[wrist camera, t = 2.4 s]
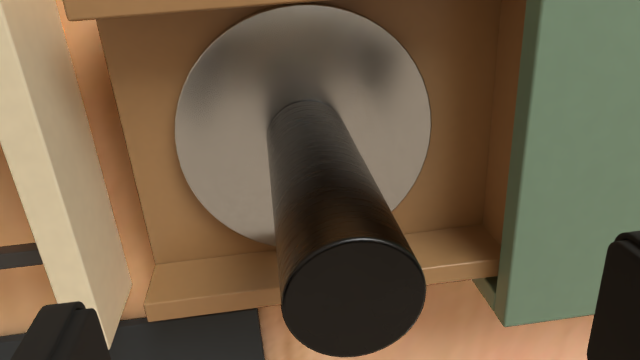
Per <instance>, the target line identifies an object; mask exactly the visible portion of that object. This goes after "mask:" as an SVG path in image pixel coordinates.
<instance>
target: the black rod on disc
mask: <svg viewBox="0 0 640 360" xmlns="http://www.w3.org/2000/svg"><path fill="white" fill-rule="evenodd" d="M431 127H432V121H431V106H430V101H429V95H428V92H427V88H426V85H425V82H424V79H423V77H422V75H421V73H420V71H419V69H418V67H417V65H416V63H415V61H414V60H413V59H412V57H411V56H410V54H409V53H408V51H407V50H406V49H405V48H404V47H403V45H402V44H401V43H400V42H399V41H398V40H397V39H396V38H395V37H394V36H393V35H392V34H390V33H389V32H388V31H387V30H386V29H384V28H383V27H382V26H380V25H379V24H377V23H375V22H374V21H372V20H370V19H369V18H367V17H365V16H364V15H361V14H359V13H357V12H354V11H352V10H350V9H347V8H343V7H340V6H336V5H333V4H327V3H319V2H304V3H292V4H279V5H274V6H271V7H267V8H264V9H261V10H258V11H256V12H253V13H251V14H249V15H247V16H245V17H242V18H241V19H239V20H238V21H236V22H234V23H233V24H231V25H230V26H228V27H227V28H226V29H224V30H223V31H222V32H221V33H220V34H218V35H217V36H216V37H215V38H214V39H213V40H212V41H211V42H210V43H209V44H208V45H207V46H206V48H205V49H204V50H203V51H202V52H201V54H200V55H199V57H198V58H197V60H196V61H195V63H194V64H193V66H192V67H191V69H190V71H189V73H188V76H187V78H186V80H185V82H184V84H183V86H182V89H181V92H180V96H179V99H178V102H177V108H176V114H175V128H174V137H175V145H176V152H177V156H178V160H179V163H180V167H181V170H182V172H183V174H184V177H185V179H186V181H187V183H188V185H189V187H190V188H191V190H192V192H193V193H194V195H195V196H196V198H197V199H198V200H199V201H200V203H201V204H202V205H203V206H204V208H205V209H206V210H207V211H208V212H209V213H211V214H212V215H213V216H214V217H215V218H216V219H217V220H218V221H220V222H221V223H222V224H224V225H225V226H226V227H228V228H229V229H231V230H233V231H235V232H236V233H238V234H240V235H242V236H244V237H246V238H249V239H251V240H254V241H256V242H260V243H263V244H267V245H270V246H276V252H277V264H278V275H279V287H280V298H281V309H282V314H283V318H284V321H285V323H286V325H287V327H288V329H289V330H290V332H291V333H292V334H293V335H294V336H295V338H296V339H297V340H299V341H300V342H301V343H302V344H303V345H305V346H306V347H308V348H310V349H312V350H314V351H316V352H319V353H321V354H325V355H329V356H335V357H356V356H362V355H367V354H370V353H374V352H376V351H379V350H381V349H384V348H386V347H387V346H389V345H391V344H393V343H394V342H396V341H397V340H399V339H400V338H401V337H402V336H403V335H405V334H406V333H407V332H408V331H409V330H410V329H411V327H412V326H413V325H414V323H415V322H416V321H417V319H418V317H419V315H420V313H421V311H422V309H423V306H424V302H425V296H426V281H425V276H424V273H423V270H422V268H421V266H420V264H419V262H418V260H417V258H416V257H415V255H414V253H413V251H412V249H411V247H410V245H409V244H408V242H407V240H406V238H405V236H404V234H403V232H402V230H401V229H400V227H399V225H398V223H397V221H396V219H395V217H394V215H393V214H392V211H393V210H394V209H395V208H396V207H397V206H398V205H399V204H400V203H401V202H402V200H403V199H404V198H405V197H406V196H407V194H408V193H409V191H410V190H411V188H412V187H413V185H414V184H415V182H416V180H417V178H418V176H419V174H420V172H421V170H422V167H423V165H424V162H425V159H426V157H427V152H428V148H429V144H430V137H431Z"/></svg>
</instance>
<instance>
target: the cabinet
mask: <svg viewBox="0 0 640 360" xmlns="http://www.w3.org/2000/svg"><path fill="white" fill-rule="evenodd" d="M632 231H640V0H527V1H526V10H525V20H524V29H523V39H522V49H521V58H520V68H519V78H518V87H517V97H516V106H515V116H514V126H513V135H512V145H511V155H510V164H509V174H508V183H507V193H506V203H505V212H504V222H503V232H502V241H501V251H500V261H499V270H498V276H493V277H486V278H478V279H472V280H473V282H474V283H475V285H476V286H477V288H478V289H479V291H480V292H481V294H482V295H483V297H484V298H485V300H486V301H487V303H488V304H489V306H490V307H491V309H492V310H493V311H494V312H495V314H496V316H497V317H498V319H499V320H500V322H501V323H502V325H503V326H504V327H510V326H517V325H525V324H532V323H539V322H546V321H553V320H560V319H567V318H574V317H581V316H588V315H594V314H595V309H596V304H597V299H598V294H599V289H600V284H601V279H602V274H603V269H604V264H605V259H606V254H607V249H608V246H609V245H610V244H611V243H612V242H614V241H615V238H616V237H617V236H618V235H619V234H621V233H624V232H632Z"/></svg>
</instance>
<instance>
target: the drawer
mask: <svg viewBox="0 0 640 360" xmlns="http://www.w3.org/2000/svg"><path fill="white" fill-rule="evenodd" d="M526 1H527V0H63V4H64V8H65V12H66V15H67V19H68V20H69V21H82V20H94V19H96V22H97V26H98V30H99V34H100V38H101V43H102V47H103V51H104V55H105V59H106V63H107V67H108V71H109V75H110V80H111V84H112V88H113V92H114V96H115V100H116V104H117V108H118V113H119V117H120V121H121V125H122V129H123V133H124V137H125V141H126V146H127V150H128V154H129V158H130V162H131V166H132V170H133V174H134V178H135V183H136V187H137V191H138V195H139V199H140V203H141V207H142V211H143V216H144V220H145V224H146V228H147V232H148V236H149V240H150V244H151V249H152V253H153V257H154V261H155V268H154V271H153V275H152V278H151V281H150V285H149V288H148V291H147V295H146V298H145V302H144V305H143V306H144V309H145V313H146V317H147V320H148V322H153V321H161V320H169V319H176V318H184V317H191V316H199V315H206V314H214V313H221V312H229V311H237V310H244V309H252V308H259V307H267V306H274V305H281V298H280V287H279V275H278V264H277V252H276V246H270V245H267V244H263V243H260V242H256V241H254V240H251V239H249V238H246V237H244V236H242V235H240V234H238V233H236V232H235V231H233V230H231V229H229V228H228V227H226V226H225V225H224V224H222V223H221V222H220V221H218V220H217V219H216V218H215V217H214V216H213V215H212V214H211V213H209V212H208V211H207V210H206V209H205V208H204V206H203V205H202V204H201V203H200V201H199V200H198V199H197V198H196V196H195V195H194V193H193V192H192V190H191V188H190V187H189V185H188V183H187V181H186V179H185V177H184V174H183V172H182V170H181V167H180V163H179V160H178V156H177V152H176V145H175V137H174V128H175V114H176V108H177V102H178V99H179V96H180V92H181V89H182V86H183V84H184V82H185V80H186V78H187V76H188V73H189V71H190V69H191V67H192V66H193V64H194V63H195V61H196V60H197V58H198V57H199V55H200V54H201V52H202V51H203V50H204V49H205V48H206V46H207V45H208V44H209V43H210V42H211V41H212V40H213V39H214V38H215V37H216V36H217V35H218V34H220V33H221V32H222V31H223V30H224V29H226V28H227V27H228V26H230V25H231V24H233V23H234V22H236V21H238V20H239V19H241V18H242V17H245V16H247V15H249V14H251V13H253V12H256V11H258V10H261V9H264V8H267V7H271V6H274V5H279V4H292V3H304V2H319V3H327V4H333V5H336V6H340V7H343V8H347V9H350V10H352V11H354V12H357V13H359V14H361V15H364V16H365V17H367V18H369V19H370V20H372V21H374V22H375V23H377V24H379V25H380V26H382V27H383V28H384V29H386V30H387V31H388V32H389V33H390V34H392V35H393V36H394V37H395V38H396V39H397V40H398V41H399V42H400V43H401V44H402V45H403V47H404V48H405V49H406V50H407V51H408V53H409V54H410V56H411V57H412V59H413V60H414V61H415V63H416V65H417V67H418V69H419V71H420V73H421V75H422V77H423V79H424V82H425V85H426V88H427V92H428V95H429V101H430V106H431V121H432V127H431V137H430V144H429V148H428V152H427V157H426V159H425V162H424V165H423V167H422V170H421V172H420V174H419V176H418V178H417V180H416V182H415V184H414V185H413V187H412V188H411V190H410V191H409V193H408V194H407V196H406V197H405V198H404V199H403V200H402V202H401V203H400V204H399V205H398V206H397V207H396V208H395V209H394V210H393V211H392V214H393V215H394V217H395V219H396V221H397V223H398V225H399V227H400V229H401V230H402V232H403V234H404V236H405V238H406V240H407V242H408V244H409V245H410V247H411V249H412V251H413V253H414V255H415V257H416V258H417V260H418V262H419V264H420V266H421V268H422V270H423V273H424V276H425V281H426V285H433V284H440V283H448V282H456V281H463V280H471V279H478V278H486V277H493V276H498V270H499V261H500V251H501V241H502V232H503V222H504V212H505V203H506V193H507V183H508V174H509V164H510V155H511V145H512V135H513V126H514V116H515V106H516V97H517V87H518V78H519V68H520V58H521V49H522V39H523V29H524V20H525V10H526ZM0 144H1V147H2V149H3V152H4V155H5V158H6V161H7V163H8V166H9V169H10V172H11V175H12V177H13V180H14V183H15V186H16V189H17V192H18V194H19V197H20V200H21V203H22V206H23V208H24V211H25V214H26V217H27V220H28V222H29V225H30V228H31V231H32V234H33V237H34V239H35V242H36V243H28V244H20V245H11V246H2V247H0V269H8V268H16V267H25V266H33V265H41V264H43V265H44V267H45V270H46V273H47V276H48V279H49V281H50V284H51V287H52V290H53V293H54V296H55V298H56V301H57V304H60V303H68V302H76V301H80V302H82V303H83V304H84V305H85V307H86V309H88V308H93V309H95V311H96V312H97V315H98V318H99V321H100V324H101V328H102V331H103V334H104V337H105V341H106V344H107V347H108V350H109V349H110V347H111V344H112V342H113V339H114V336H115V333H116V330H117V327H118V324H119V321H120V318H121V316H122V313H123V310H124V307H125V304H126V301H127V298H128V295H129V293H130V290H131V287H132V281H131V277H130V273H129V270H128V266H127V262H126V259H125V255H124V251H123V248H122V244H121V240H120V237H119V233H118V229H117V226H116V222H115V218H114V214H113V211H112V207H111V203H110V200H109V196H108V192H107V189H106V185H105V181H104V178H103V174H102V170H101V167H100V163H99V159H98V155H97V152H96V148H95V144H94V141H93V137H92V133H91V130H90V126H89V122H88V119H87V115H86V111H85V108H84V104H83V100H82V97H81V93H80V89H79V85H78V82H77V78H76V74H75V71H74V67H73V63H72V60H71V56H70V52H69V49H68V45H67V41H66V38H65V34H64V30H63V26H62V23H61V19H60V15H59V12H58V8H57V4H56V1H55V0H0Z"/></svg>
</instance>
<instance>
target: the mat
mask: <svg viewBox="0 0 640 360" xmlns="http://www.w3.org/2000/svg"><path fill="white" fill-rule="evenodd" d="M25 334H26V333H24V334H17V335H9V336H1V337H0V360H10V359H11V358H12V356H13V354H14V353H15V351H16V349H17V348H18V346H19V344H20V343H21V341H22V339H23V338H24V336H25ZM109 353H110V357H111V360H265V357H264V350H263V343H262V336H261V329H260V322H259V316H258V309H257V308H252V309H244V310H237V311H229V312H221V313H214V314H206V315H199V316H191V317H184V318H176V319H169V320H161V321H153V322H148V320H147V317H146V318H138V319H131V320H123V321H119V324H118V327H117V330H116V333H115V336H114V339H113V342H112V344H111V347H110V349H109Z"/></svg>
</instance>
